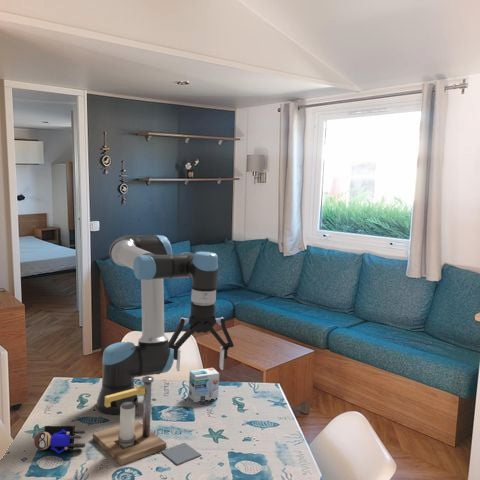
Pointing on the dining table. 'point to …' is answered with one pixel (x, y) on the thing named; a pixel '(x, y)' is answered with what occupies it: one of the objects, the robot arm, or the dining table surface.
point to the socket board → (123, 456)
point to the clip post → (147, 406)
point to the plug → (127, 425)
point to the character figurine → (58, 438)
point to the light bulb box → (203, 384)
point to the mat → (180, 453)
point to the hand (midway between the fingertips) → (199, 369)
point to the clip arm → (124, 395)
